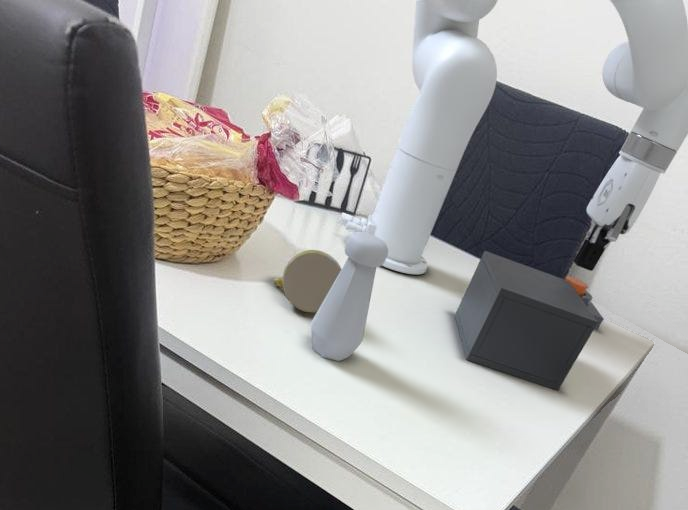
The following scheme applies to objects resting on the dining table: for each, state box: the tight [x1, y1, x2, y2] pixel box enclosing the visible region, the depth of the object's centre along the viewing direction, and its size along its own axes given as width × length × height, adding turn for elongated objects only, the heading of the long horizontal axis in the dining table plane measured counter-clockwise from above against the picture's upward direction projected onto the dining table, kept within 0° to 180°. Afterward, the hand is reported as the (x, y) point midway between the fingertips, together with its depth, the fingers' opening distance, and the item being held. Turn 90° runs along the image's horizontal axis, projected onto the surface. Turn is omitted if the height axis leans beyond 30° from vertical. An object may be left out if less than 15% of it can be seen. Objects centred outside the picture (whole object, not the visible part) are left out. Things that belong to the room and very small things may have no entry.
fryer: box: [454, 250, 598, 391], centre depth 93 cm, size 15×13×10 cm
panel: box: [578, 290, 604, 331], centre depth 121 cm, size 11×9×4 cm
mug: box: [273, 249, 342, 314], centre depth 85 cm, size 8×10×10 cm
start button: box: [564, 275, 589, 296], centre depth 120 cm, size 4×4×2 cm
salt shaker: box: [310, 232, 388, 362], centre depth 74 cm, size 6×6×13 cm
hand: (582, 266), depth 118 cm, fingers closed
